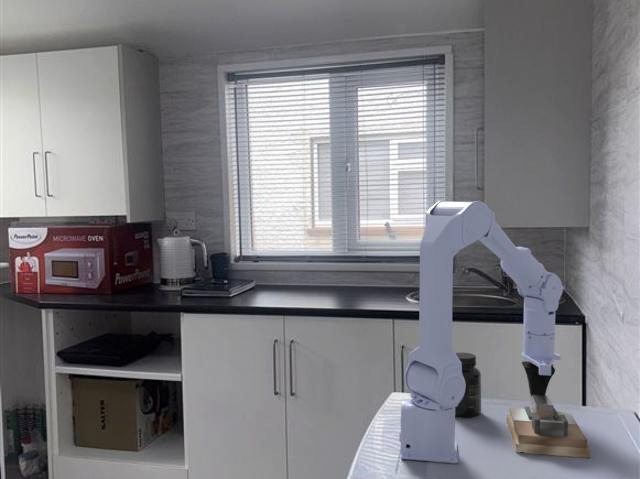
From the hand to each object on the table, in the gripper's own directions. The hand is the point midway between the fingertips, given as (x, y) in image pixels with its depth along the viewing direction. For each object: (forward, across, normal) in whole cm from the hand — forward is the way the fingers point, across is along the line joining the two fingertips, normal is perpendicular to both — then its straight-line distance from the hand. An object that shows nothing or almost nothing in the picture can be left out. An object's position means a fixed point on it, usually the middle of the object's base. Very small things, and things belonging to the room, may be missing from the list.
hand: (537, 399), depth 110 cm
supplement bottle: (+4, +2, +14) cm, 15 cm away
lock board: (+4, -8, 0) cm, 9 cm away
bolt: (+1, -5, 0) cm, 5 cm away
